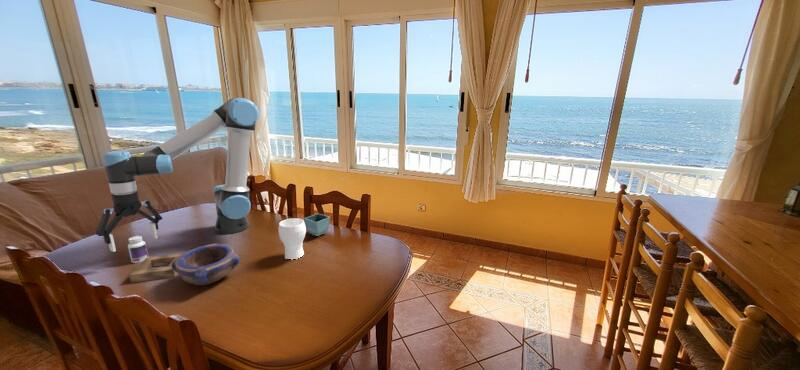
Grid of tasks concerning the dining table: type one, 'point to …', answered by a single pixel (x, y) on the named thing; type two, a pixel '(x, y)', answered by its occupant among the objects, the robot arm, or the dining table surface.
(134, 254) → the pill bottle
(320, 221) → the flower pot
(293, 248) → the cup
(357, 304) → the dining table surface
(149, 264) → the brown square frame
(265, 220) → the dining table surface
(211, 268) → the bowl
